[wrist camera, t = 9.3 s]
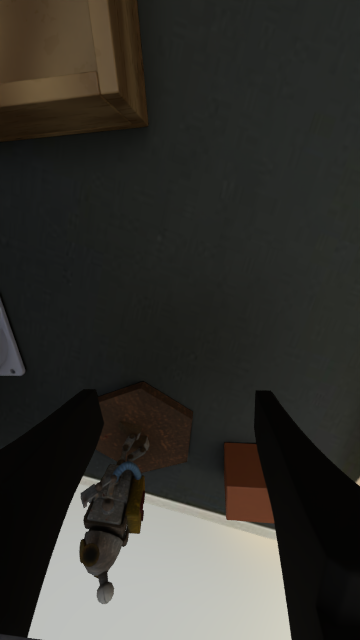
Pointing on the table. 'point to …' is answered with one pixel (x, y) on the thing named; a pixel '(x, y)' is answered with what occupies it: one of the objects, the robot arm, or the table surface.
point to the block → (245, 485)
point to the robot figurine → (129, 470)
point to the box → (70, 68)
